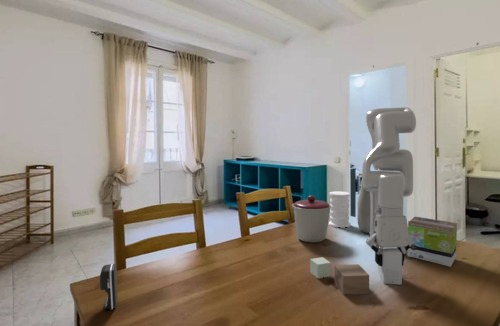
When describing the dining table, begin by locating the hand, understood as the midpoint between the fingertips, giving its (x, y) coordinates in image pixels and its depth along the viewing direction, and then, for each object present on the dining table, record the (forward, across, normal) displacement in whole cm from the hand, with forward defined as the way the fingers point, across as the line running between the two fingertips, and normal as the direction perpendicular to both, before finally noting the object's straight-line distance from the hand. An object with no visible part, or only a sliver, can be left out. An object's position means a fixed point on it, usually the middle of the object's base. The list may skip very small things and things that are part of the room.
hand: (389, 263), depth 98 cm
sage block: (+5, -22, +5) cm, 23 cm away
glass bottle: (+5, +15, +50) cm, 52 cm away
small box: (+5, 0, 0) cm, 5 cm away
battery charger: (+5, -88, -10) cm, 89 cm away
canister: (+5, -16, +42) cm, 45 cm away
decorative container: (+5, +5, +64) cm, 64 cm away
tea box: (+5, +25, +16) cm, 30 cm away
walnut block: (+5, -15, -5) cm, 17 cm away
